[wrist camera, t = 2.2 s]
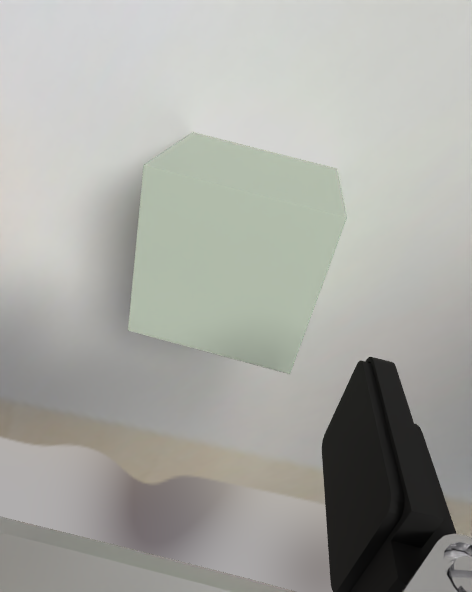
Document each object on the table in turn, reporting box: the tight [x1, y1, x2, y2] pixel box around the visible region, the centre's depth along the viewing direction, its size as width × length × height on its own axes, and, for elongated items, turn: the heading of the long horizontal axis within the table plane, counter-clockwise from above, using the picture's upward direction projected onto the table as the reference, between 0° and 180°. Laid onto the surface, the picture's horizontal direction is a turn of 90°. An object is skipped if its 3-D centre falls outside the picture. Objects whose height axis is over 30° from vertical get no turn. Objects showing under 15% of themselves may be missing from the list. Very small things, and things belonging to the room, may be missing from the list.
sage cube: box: [128, 132, 347, 374], centre depth 16 cm, size 6×6×6 cm
